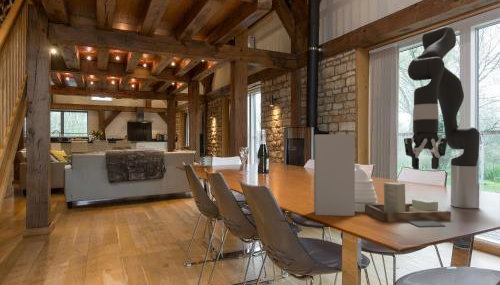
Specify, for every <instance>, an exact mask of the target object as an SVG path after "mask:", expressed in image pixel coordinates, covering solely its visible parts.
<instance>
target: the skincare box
mask: <svg viewBox="0 0 500 285" xmlns="http://www.w3.org/2000/svg"><path fill="white" fill-rule="evenodd" d="M383 204H384V211H385V212H406V210H405V204H406V184H405V183H402V182H401V183H400V182H393V181H390V182H383Z"/></svg>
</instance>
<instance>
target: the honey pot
mask: <svg viewBox="0 0 500 285" xmlns="http://www.w3.org/2000/svg"><path fill="white" fill-rule="evenodd" d="M361 165H362V164H360V163H355V212H358V213H366V212H365V204H378V195H377V192H376V191H375V190H376V188H375V187H374V184H373V182H374V180H373V179H371V177H370V175H369V174H368V172H367V171H366V169H365V168H363V167H361Z"/></svg>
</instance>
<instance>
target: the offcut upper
mask: <svg viewBox="0 0 500 285" xmlns="http://www.w3.org/2000/svg"><path fill="white" fill-rule="evenodd" d="M411 204H412V207H413V208H417V209H421V210H425V211H434V210H439V202H438V201H436V200H432V199H431V200H429V199H427V198H426V199H425V198H412V199H411Z"/></svg>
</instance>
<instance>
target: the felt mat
mask: <svg viewBox="0 0 500 285" xmlns="http://www.w3.org/2000/svg"><path fill="white" fill-rule="evenodd" d="M405 222H406V223H409V224H410V225H413V226H415V227H417V228H437V227H438V228H440V227H446V225H445V224H443V223H441V222H438V221H433V220H408V221H405Z"/></svg>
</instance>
